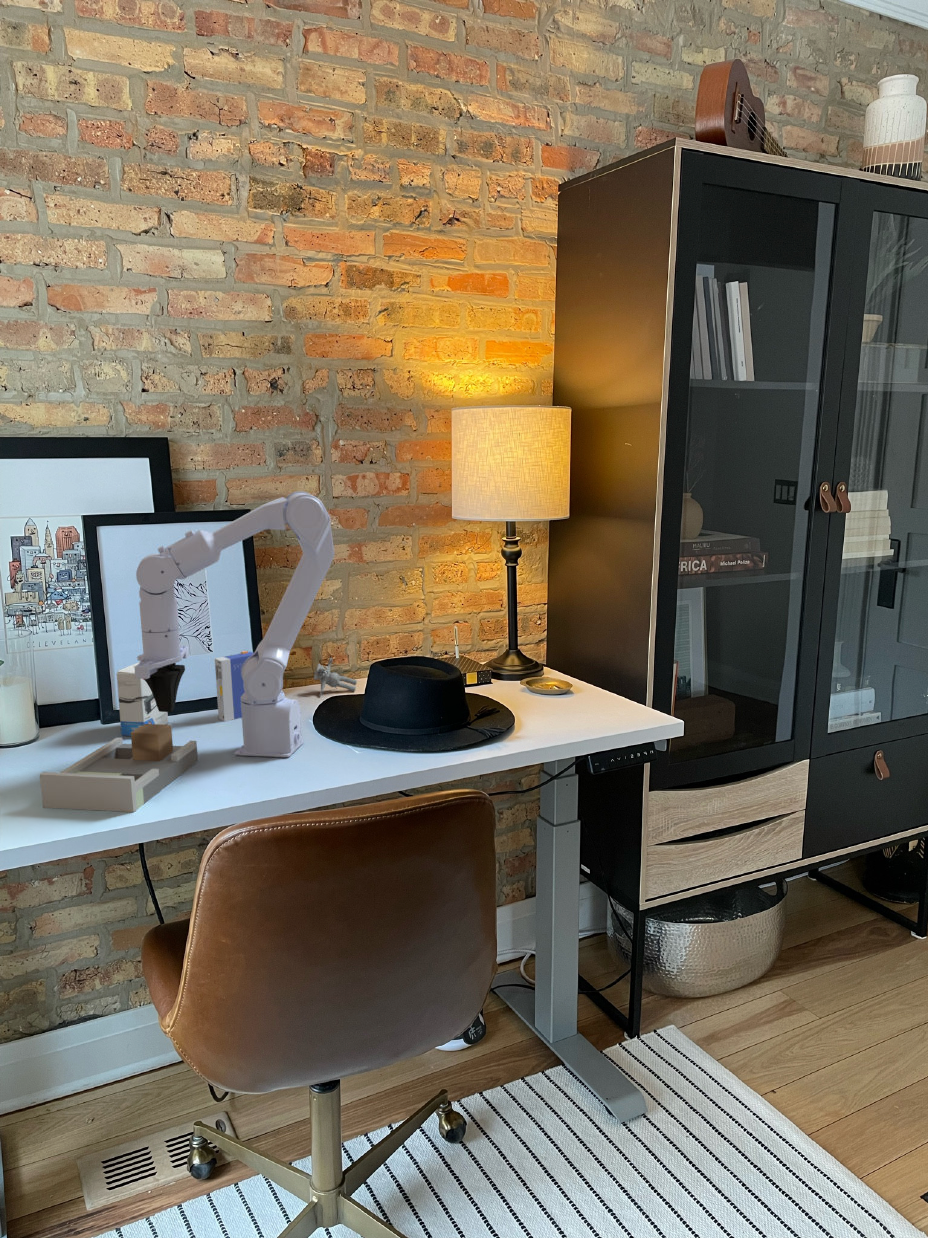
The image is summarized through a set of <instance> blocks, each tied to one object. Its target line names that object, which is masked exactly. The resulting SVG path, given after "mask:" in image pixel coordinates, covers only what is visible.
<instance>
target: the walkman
mask: <svg viewBox="0 0 928 1238" xmlns="http://www.w3.org/2000/svg"><path fill="white" fill-rule="evenodd" d="M253 654H254V652H253V651H247V650H244V651H240V653H236V654H230V655H225V656H221V657H215V658H214V667H215V683H216V697H217V712H218V713H217V714H218V715H217V716H218V719H219V720H221V721H223V722H228V721H232V720H237V719H240V718H241V719H242V711H241V696H242V695H243V694H244V693H245V691H244V685H243V683H244V681H243V679H242V676H241V668H242V665H243V663H244V662H245V661H246V660H247V659H248V658H249V657H250V656H252V655H253Z"/></svg>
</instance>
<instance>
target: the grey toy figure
mask: <svg viewBox="0 0 928 1238" xmlns="http://www.w3.org/2000/svg"><path fill="white" fill-rule="evenodd" d="M327 663H328V665H326V666H325V667H326V668H325V667H324V666H323V665H321V664H320V663H318V664H317V667H316V669H315V671H314V676H313V680H314V681H316V680H319V681H320V691H319V698H321V697H322V695H323V693H324V689H325V687H326V686H328V687H331V688H334V689H338V688H342V689H346V690H348V691H350V692H352V693H354V692H356V690H357V686H356V685H357V683H358V679H353V678H350V677H347V676H343V675H340V674H339V673H337V672H335V671H334V672H331V666H332V663H333V658H332V656H331V657H330V659H329V661H328V662H327ZM337 687H338V688H337Z"/></svg>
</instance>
